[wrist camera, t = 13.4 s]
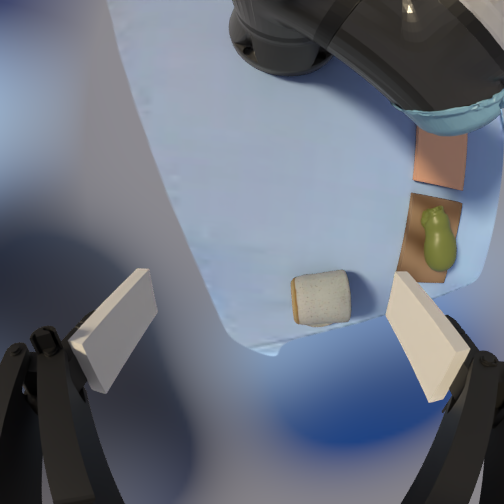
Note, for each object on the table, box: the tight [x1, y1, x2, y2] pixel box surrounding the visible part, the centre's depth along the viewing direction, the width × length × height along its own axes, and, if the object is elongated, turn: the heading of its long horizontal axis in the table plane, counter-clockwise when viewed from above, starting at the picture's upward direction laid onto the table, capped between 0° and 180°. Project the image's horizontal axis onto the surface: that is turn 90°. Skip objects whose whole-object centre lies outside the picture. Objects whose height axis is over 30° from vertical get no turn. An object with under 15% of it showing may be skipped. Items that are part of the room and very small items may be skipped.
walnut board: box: [396, 193, 462, 283], centre depth 37 cm, size 14×10×1 cm
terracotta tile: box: [413, 126, 468, 191], centre depth 31 cm, size 14×10×1 cm
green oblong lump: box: [421, 206, 457, 272], centre depth 34 cm, size 6×5×10 cm
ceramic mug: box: [291, 270, 351, 327], centre depth 39 cm, size 11×8×8 cm
